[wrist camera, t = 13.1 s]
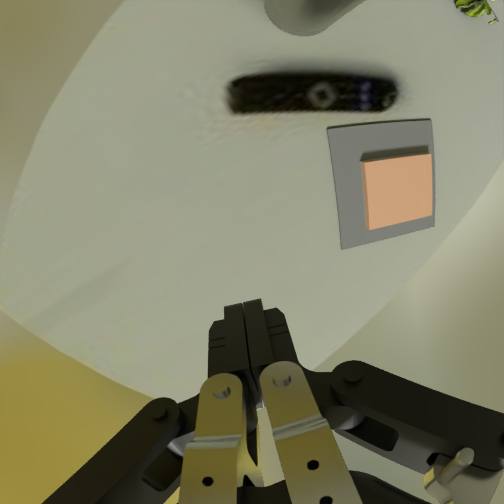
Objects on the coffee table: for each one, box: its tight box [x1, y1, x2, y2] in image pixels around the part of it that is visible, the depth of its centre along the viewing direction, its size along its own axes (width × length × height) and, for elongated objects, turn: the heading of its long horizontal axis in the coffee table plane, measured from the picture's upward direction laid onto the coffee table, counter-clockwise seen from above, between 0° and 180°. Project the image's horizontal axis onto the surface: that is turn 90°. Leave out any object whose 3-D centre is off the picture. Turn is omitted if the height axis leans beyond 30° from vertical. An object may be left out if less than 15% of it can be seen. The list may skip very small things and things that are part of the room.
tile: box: [360, 152, 432, 230], centre depth 39 cm, size 10×2×12 cm
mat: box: [327, 120, 435, 250], centre depth 40 cm, size 18×18×1 cm
